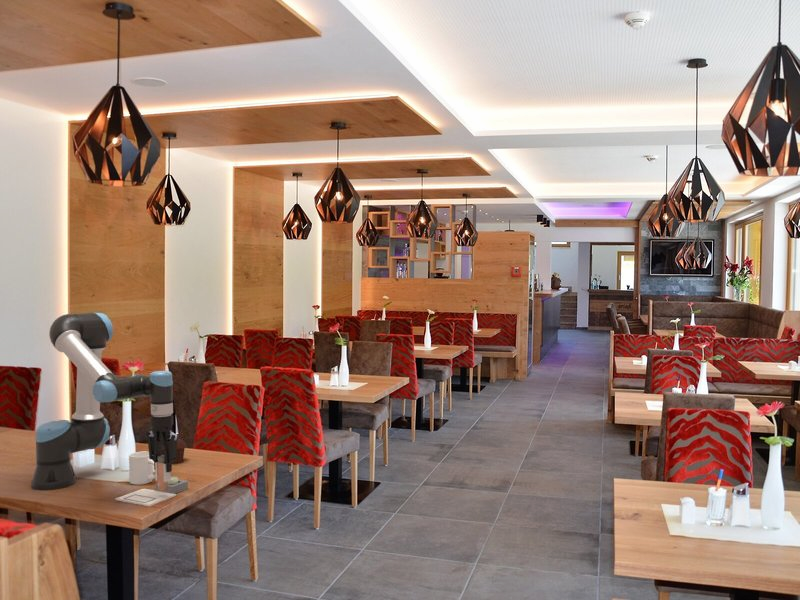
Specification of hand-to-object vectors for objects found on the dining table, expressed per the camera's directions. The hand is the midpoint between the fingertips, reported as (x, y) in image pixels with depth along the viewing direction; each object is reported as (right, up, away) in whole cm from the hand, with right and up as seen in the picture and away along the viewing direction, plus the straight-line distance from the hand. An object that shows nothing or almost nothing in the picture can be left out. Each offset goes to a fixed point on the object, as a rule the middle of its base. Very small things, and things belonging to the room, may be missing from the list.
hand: (163, 480), depth 252 cm
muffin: (-12, -5, +48) cm, 50 cm away
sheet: (-6, -6, 0) cm, 9 cm away
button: (0, -4, +8) cm, 9 cm away
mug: (-13, -6, +19) cm, 24 cm away
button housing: (0, -6, +8) cm, 10 cm away
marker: (0, -3, 0) cm, 3 cm away
